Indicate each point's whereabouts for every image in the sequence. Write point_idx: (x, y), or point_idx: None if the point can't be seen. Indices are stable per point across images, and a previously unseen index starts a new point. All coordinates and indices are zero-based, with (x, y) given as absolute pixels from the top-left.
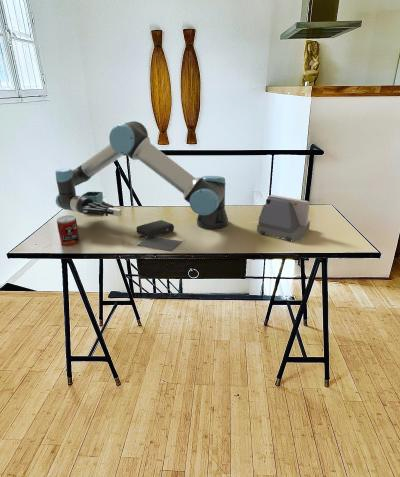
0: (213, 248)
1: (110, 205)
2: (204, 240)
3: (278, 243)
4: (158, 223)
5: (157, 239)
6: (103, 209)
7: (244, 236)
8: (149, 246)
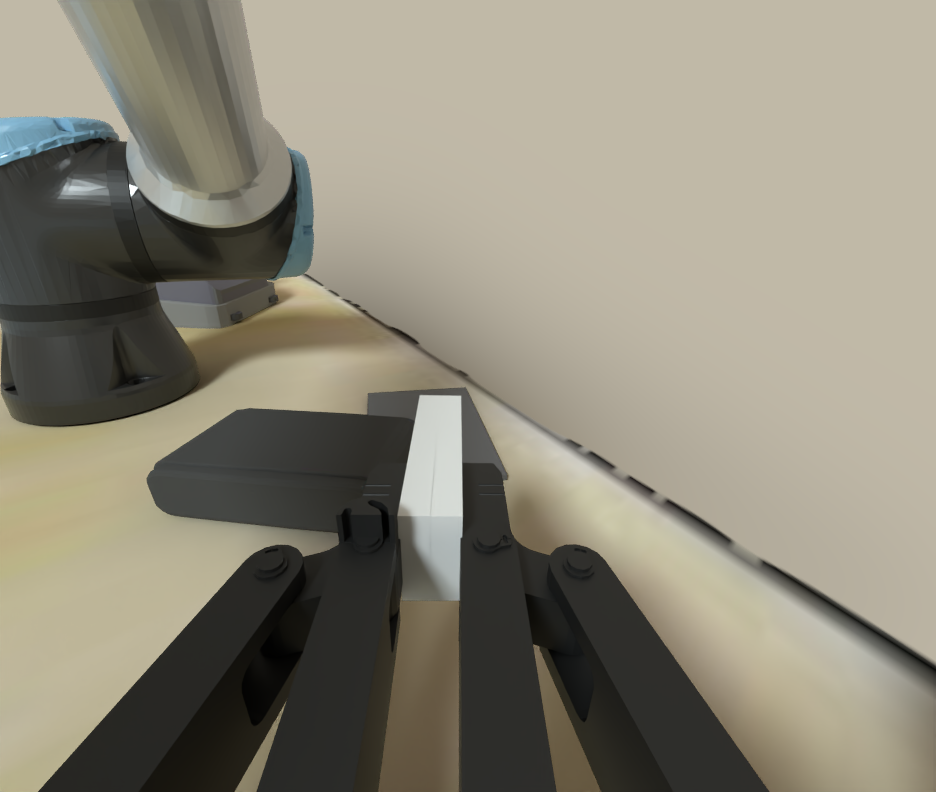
0: (380, 349)
1: (356, 508)
2: (326, 369)
3: (295, 308)
4: (255, 439)
5: None
6: (519, 584)
7: (261, 334)
8: (485, 436)
